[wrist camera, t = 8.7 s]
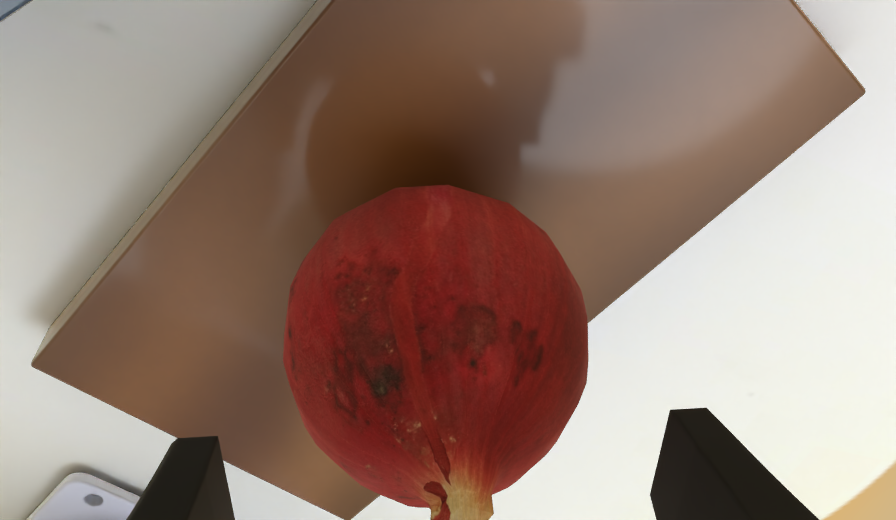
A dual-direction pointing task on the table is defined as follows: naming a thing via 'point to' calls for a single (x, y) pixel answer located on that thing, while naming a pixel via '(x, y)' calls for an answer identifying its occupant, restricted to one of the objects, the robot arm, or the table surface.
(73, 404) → the table surface
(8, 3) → the bowl
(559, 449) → the table surface
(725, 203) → the board
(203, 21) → the table surface
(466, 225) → the onion
